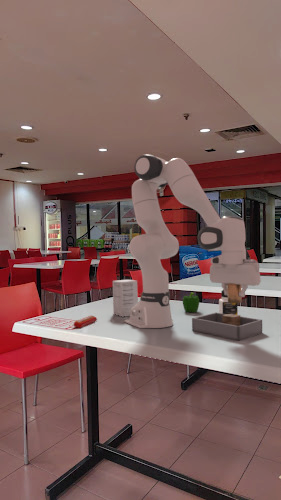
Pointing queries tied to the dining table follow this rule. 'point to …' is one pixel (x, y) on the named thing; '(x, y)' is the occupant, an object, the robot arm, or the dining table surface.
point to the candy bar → (85, 321)
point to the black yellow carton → (227, 305)
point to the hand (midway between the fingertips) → (234, 296)
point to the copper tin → (234, 293)
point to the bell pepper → (191, 303)
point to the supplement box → (124, 296)
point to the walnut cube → (231, 319)
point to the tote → (226, 326)
